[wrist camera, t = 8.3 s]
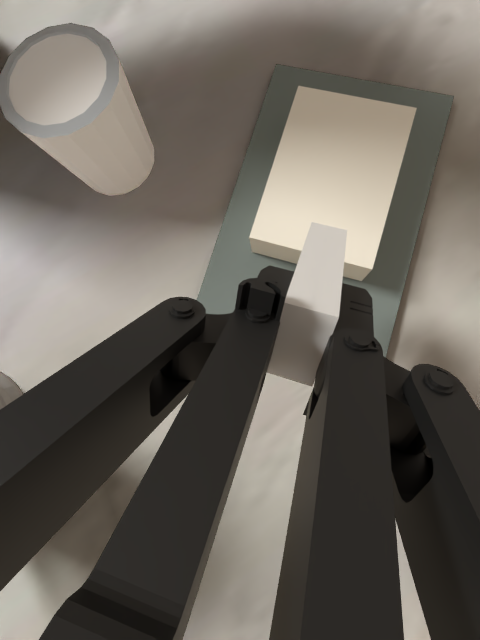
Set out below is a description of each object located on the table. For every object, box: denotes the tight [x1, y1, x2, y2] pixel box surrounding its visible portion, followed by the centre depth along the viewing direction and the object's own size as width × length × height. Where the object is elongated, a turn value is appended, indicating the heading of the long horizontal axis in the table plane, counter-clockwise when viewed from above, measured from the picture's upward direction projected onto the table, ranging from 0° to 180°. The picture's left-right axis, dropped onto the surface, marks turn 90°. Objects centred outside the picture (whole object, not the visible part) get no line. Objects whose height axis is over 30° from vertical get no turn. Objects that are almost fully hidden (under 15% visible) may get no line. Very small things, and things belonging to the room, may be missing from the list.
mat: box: [197, 64, 454, 358], centre depth 22 cm, size 20×12×1 cm, turn 162°
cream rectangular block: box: [249, 86, 417, 281], centre depth 21 cm, size 3×7×10 cm
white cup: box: [0, 23, 154, 196], centre depth 21 cm, size 7×7×7 cm
